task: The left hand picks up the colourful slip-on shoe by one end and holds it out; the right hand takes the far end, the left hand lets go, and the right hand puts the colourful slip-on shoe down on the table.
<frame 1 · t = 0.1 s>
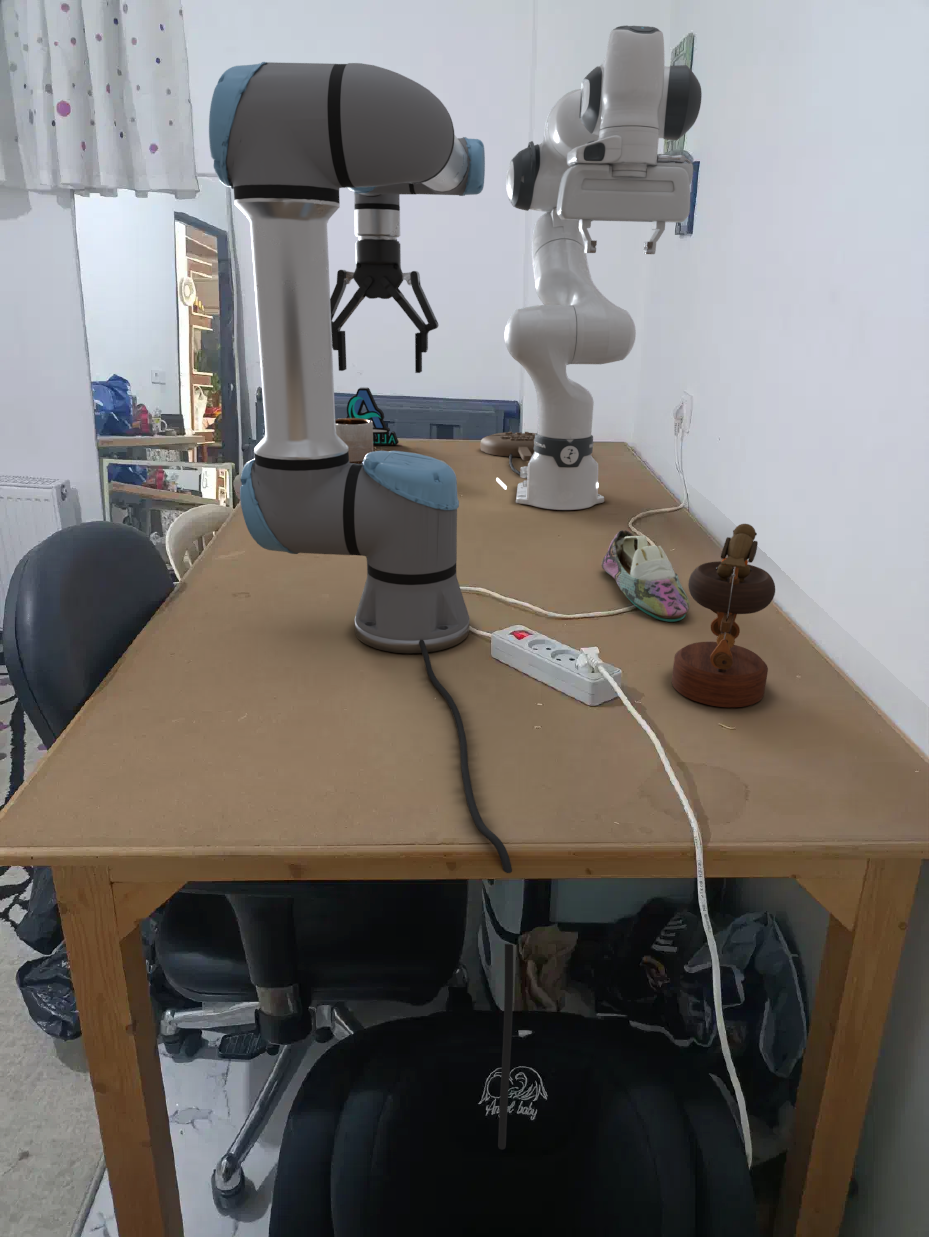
left hand: (380, 371, 149), 28 cm above the table, tool pointing down, fingers open, 13 cm apart
right hand: (619, 253, 132), 48 cm above the table, tool pointing down, fingers open, 8 cm apart
colourful slip-on shoe: (639, 594, 128), on the table
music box: (715, 684, 100), on the table
planter: (352, 460, 214), on the table
ice cream bar: (521, 455, 223), on the table
decorative sign: (364, 444, 234), on the table
dog toy: (405, 483, 192), on the table
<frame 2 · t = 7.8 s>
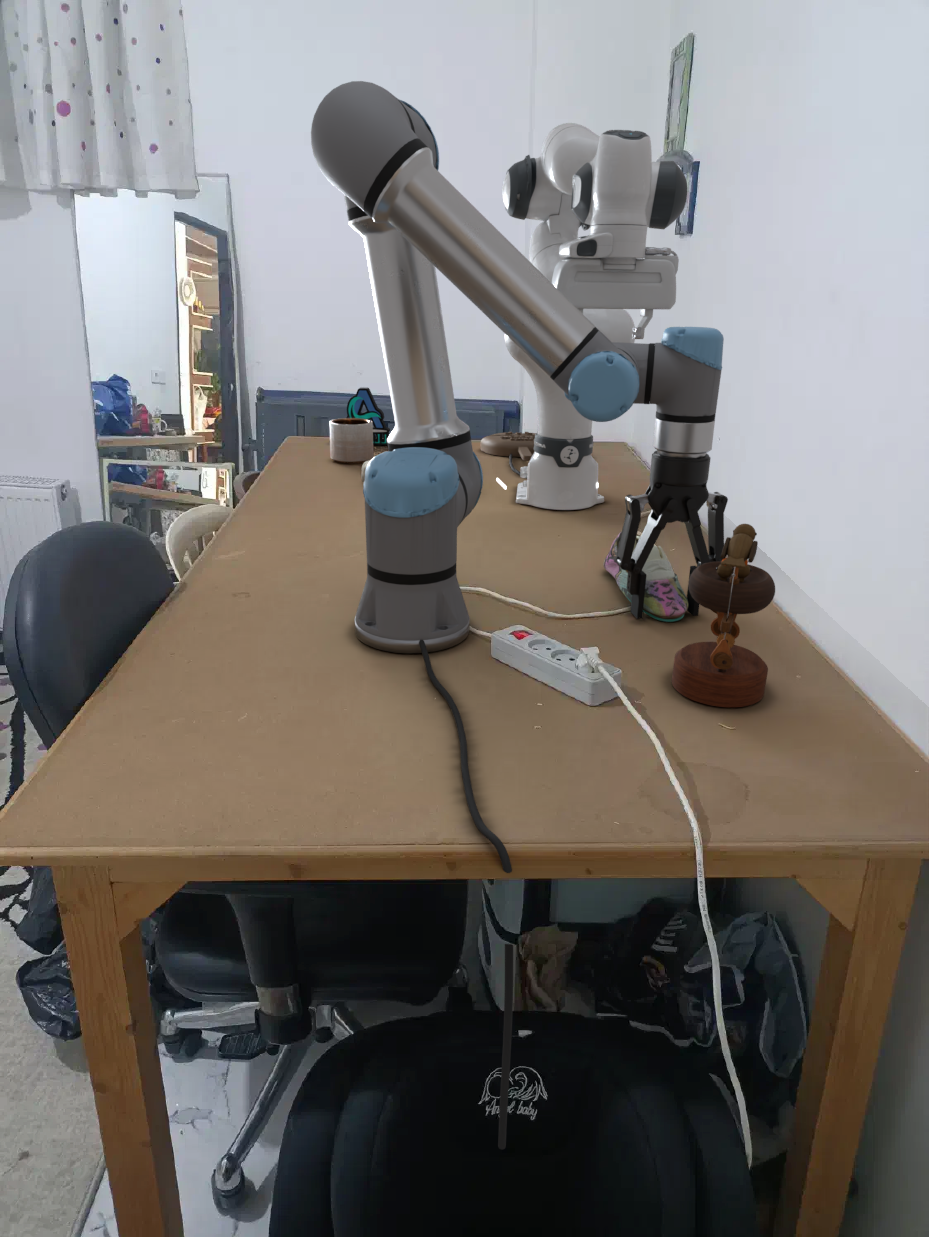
left hand: (664, 613, 119), 0 cm above the table, tool pointing down, fingers closed on colourful slip-on shoe, 7 cm apart
right hand: (610, 339, 138), 35 cm above the table, tool pointing down, fingers open, 8 cm apart
colourful slip-on shoe: (639, 594, 128), on the table, touching left hand
everything else where it was.
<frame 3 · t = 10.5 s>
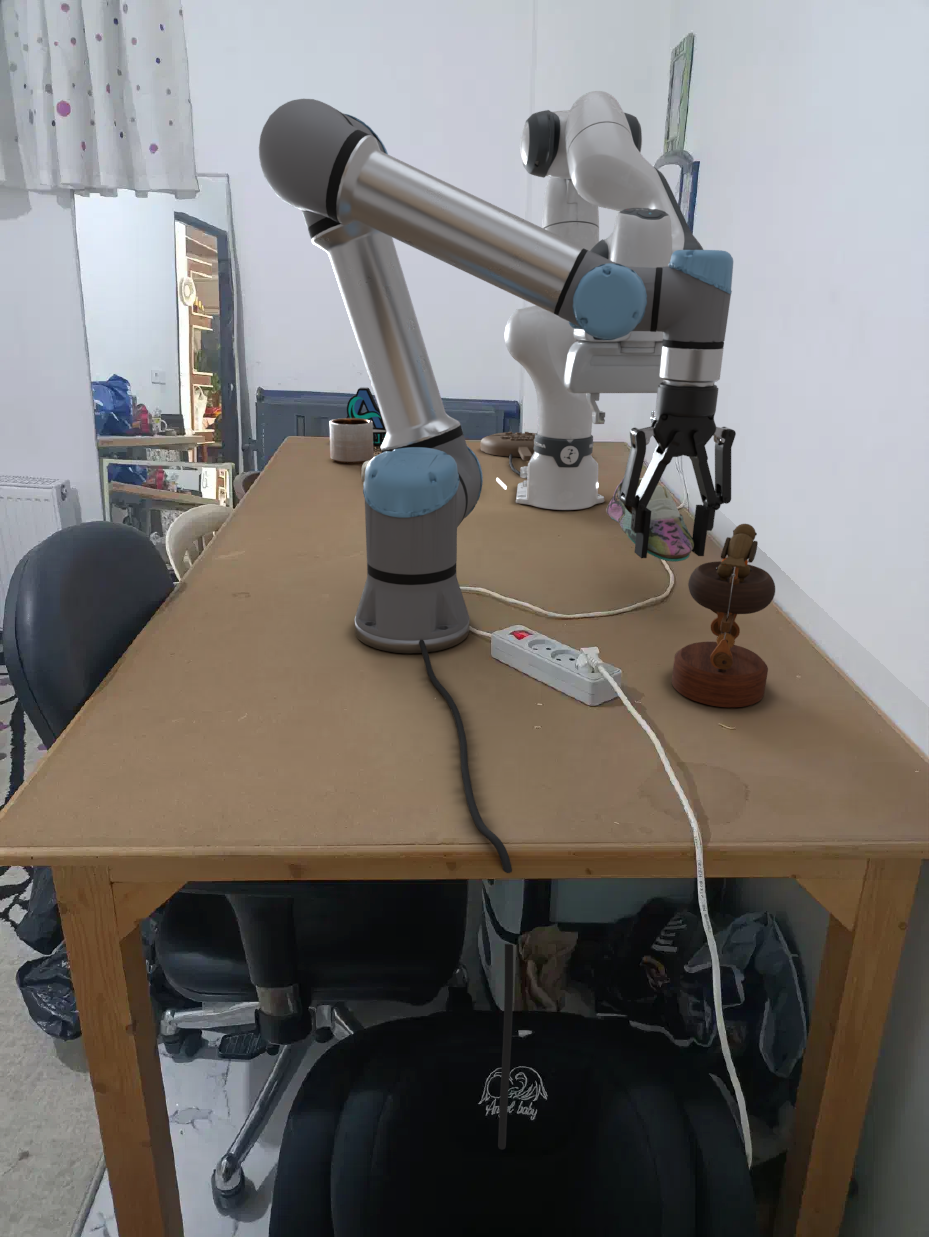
left hand: (668, 553, 116), 9 cm above the table, tool pointing down, fingers closed on colourful slip-on shoe, 7 cm apart
right hand: (627, 423, 130), 24 cm above the table, tool pointing down, fingers open, 8 cm apart
colourful slip-on shoe: (643, 538, 124), point 9 cm above the table, touching left hand
everything else where it was.
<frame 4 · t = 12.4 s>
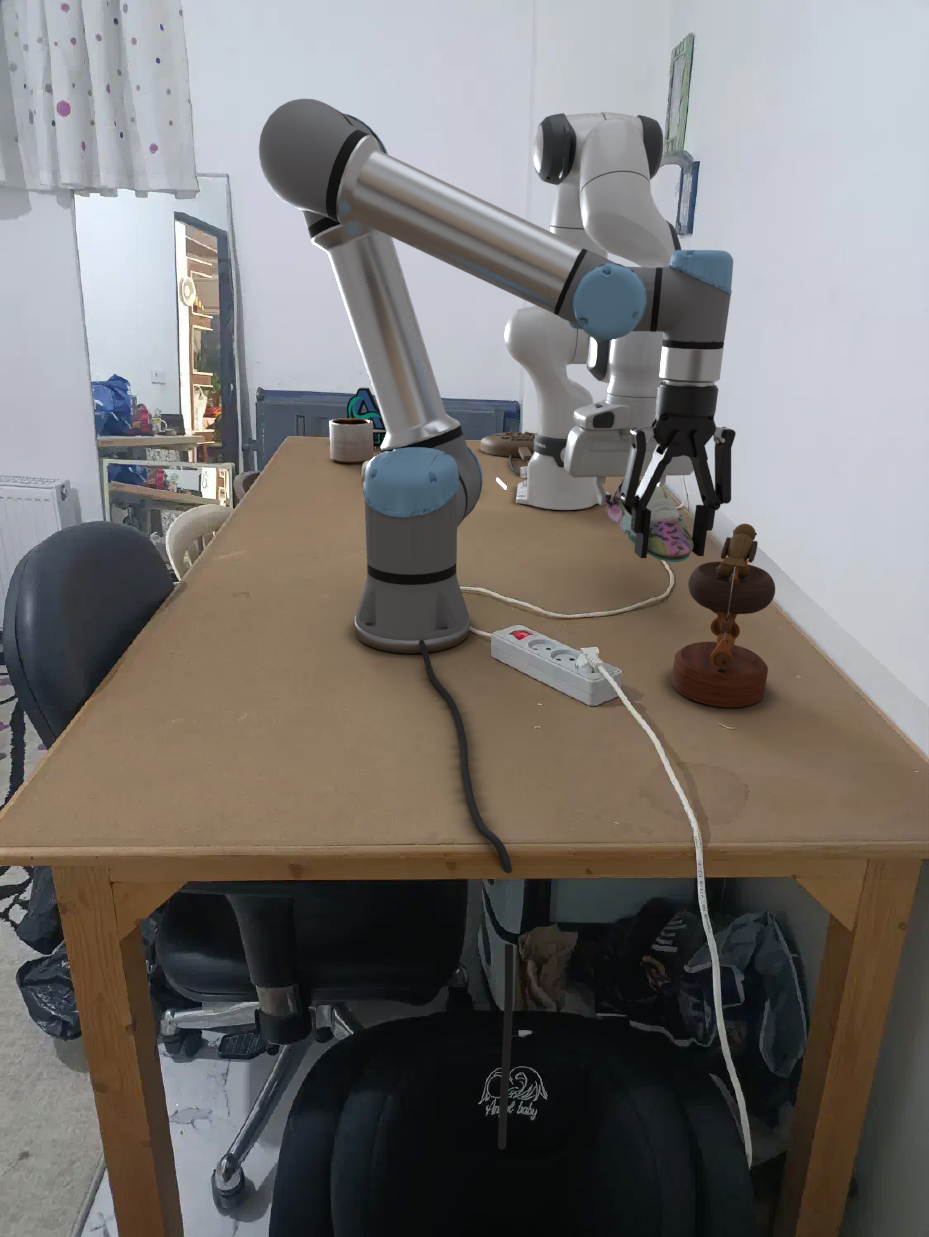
left hand: (668, 554, 116), 9 cm above the table, tool pointing down, fingers closed on colourful slip-on shoe, 7 cm apart
right hand: (626, 503, 132), 12 cm above the table, tool pointing down, fingers closed on colourful slip-on shoe, 6 cm apart
colourful slip-on shoe: (643, 538, 125), point 9 cm above the table, touching left hand, right hand
everything else where it was.
when the left hand's fingers open (9 cm above the table, at t = 13.4 s): colourful slip-on shoe stays where it is, held by the right hand.
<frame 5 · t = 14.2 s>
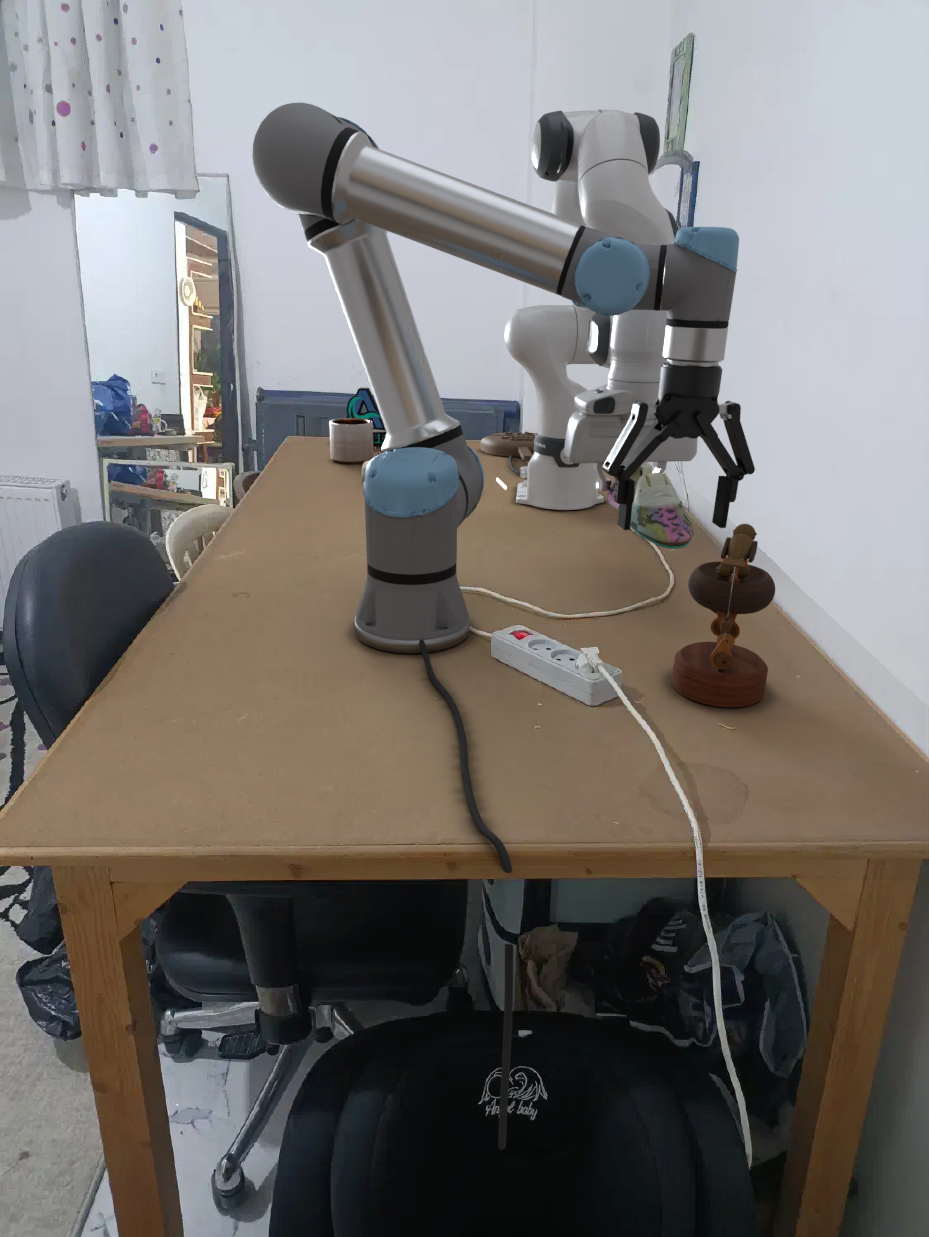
left hand: (671, 526, 114), 13 cm above the table, tool pointing down, fingers open, 13 cm apart
right hand: (627, 490, 131), 14 cm above the table, tool pointing down, fingers closed on colourful slip-on shoe, 6 cm apart
colourful slip-on shoe: (643, 525, 124), point 11 cm above the table, touching right hand
everything else where it was.
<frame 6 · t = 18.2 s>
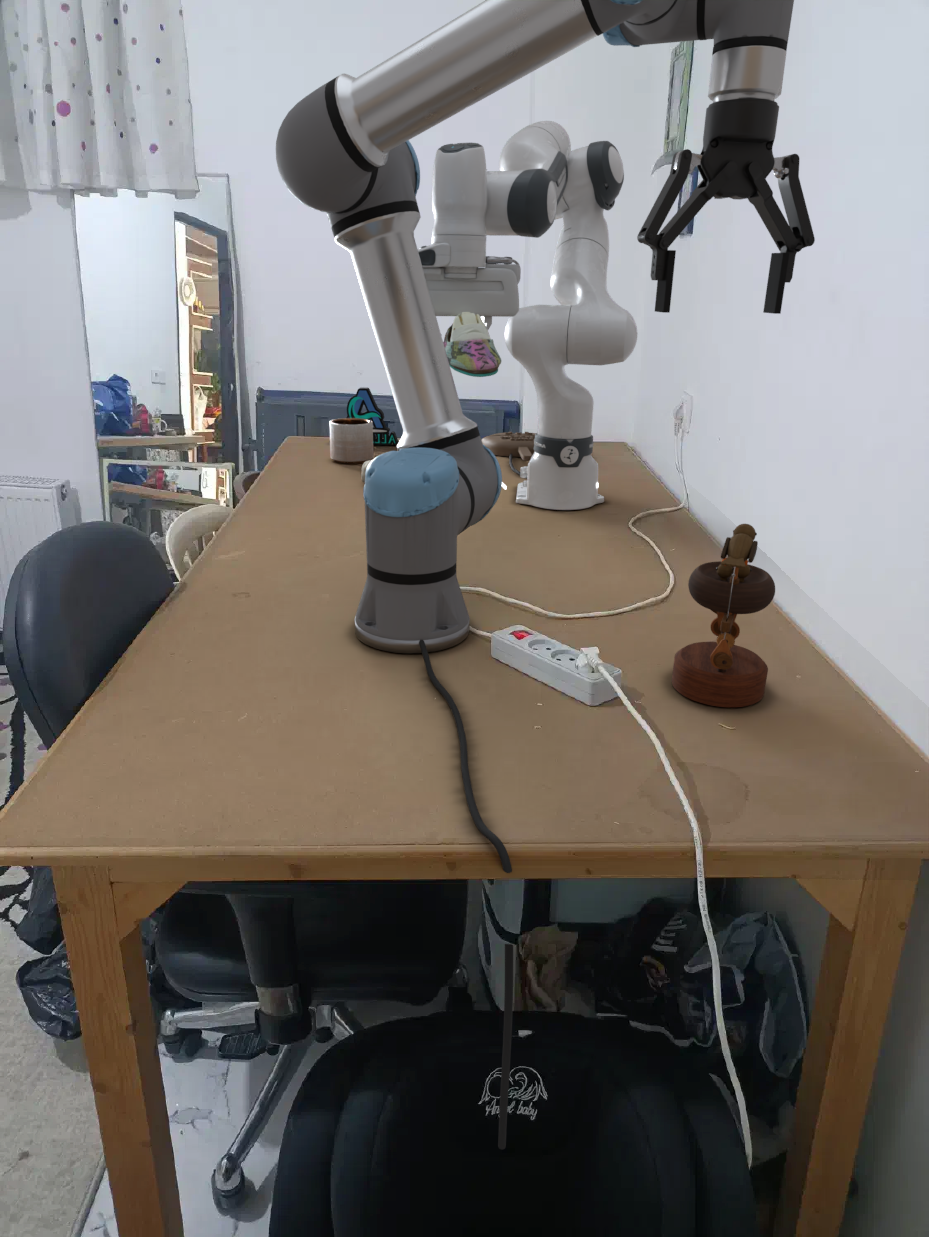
left hand: (717, 313, 98), 41 cm above the table, tool pointing down, fingers open, 13 cm apart
right hand: (457, 345, 142), 33 cm above the table, tool pointing down, fingers closed on colourful slip-on shoe, 6 cm apart
colourful slip-on shoe: (466, 369, 135), point 30 cm above the table, touching right hand
everything else where it was.
when the right hand's fingers open (4 cm above the table, at t = 24.3 s): colourful slip-on shoe drops 1 cm, on the table.
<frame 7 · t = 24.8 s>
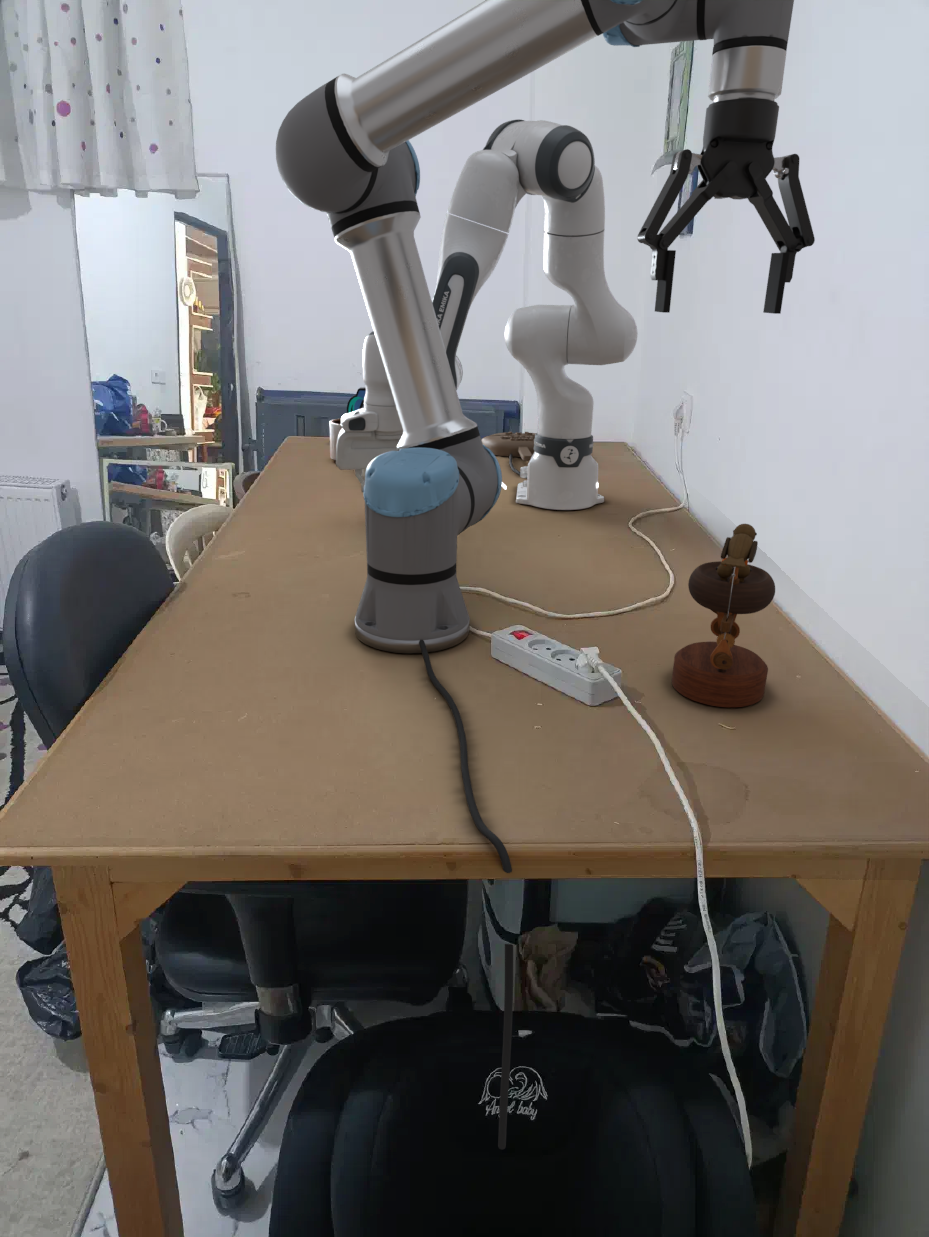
left hand: (717, 313, 98), 41 cm above the table, tool pointing down, fingers open, 13 cm apart
right hand: (390, 491, 163), 5 cm above the table, tool pointing down, fingers open, 8 cm apart
colourful slip-on shoe: (394, 533, 155), on the table
everything else where it was.
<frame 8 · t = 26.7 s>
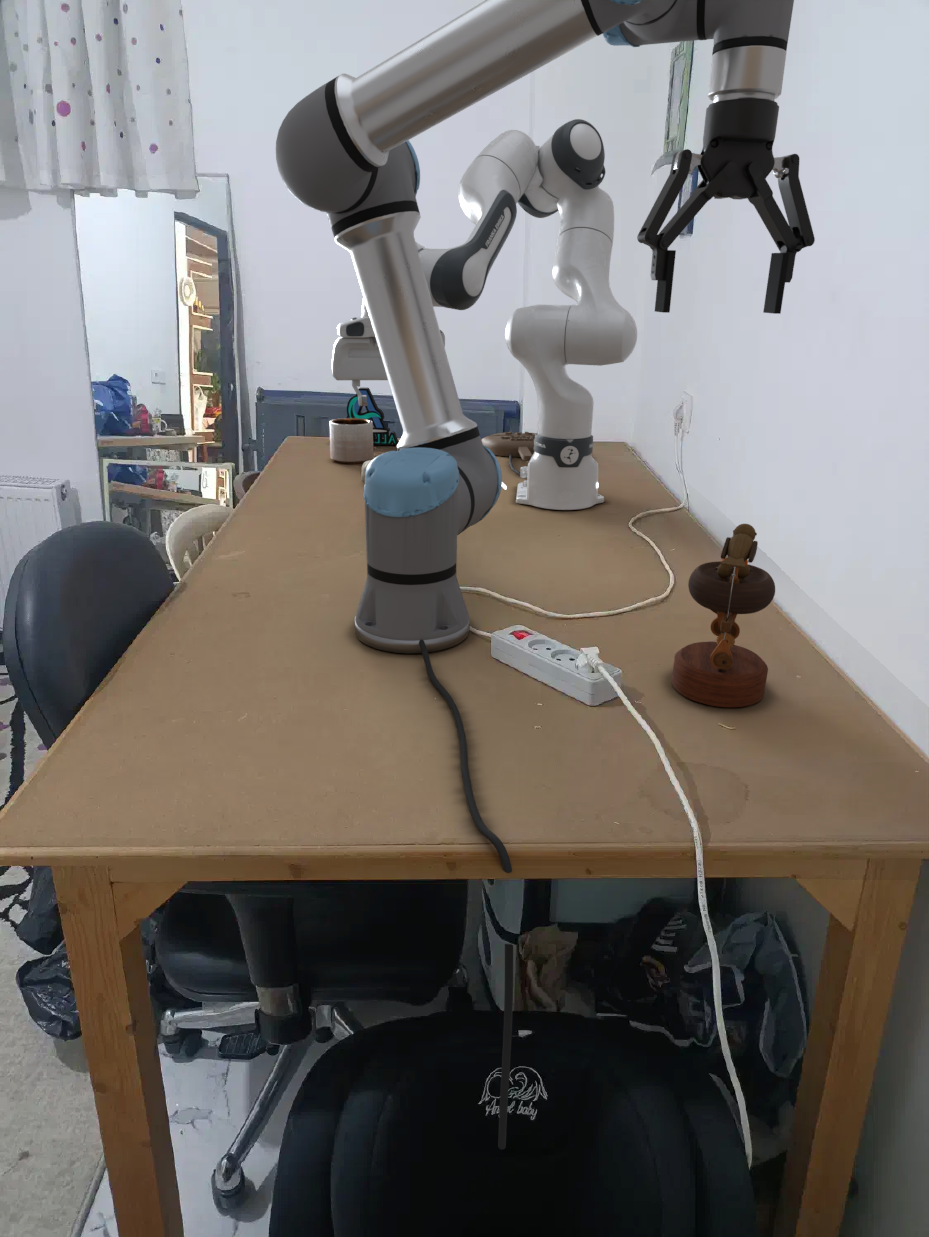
left hand: (717, 313, 98), 41 cm above the table, tool pointing down, fingers open, 13 cm apart
right hand: (388, 405, 155), 22 cm above the table, tool pointing down, fingers open, 8 cm apart
nothing on the table moved.
at the end: colourful slip-on shoe inside the target area (9.0 cm from its centre), on the table; the left hand is holding nothing; the right hand is holding nothing; colourful slip-on shoe at rest at the end (0.0 cm/s) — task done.
